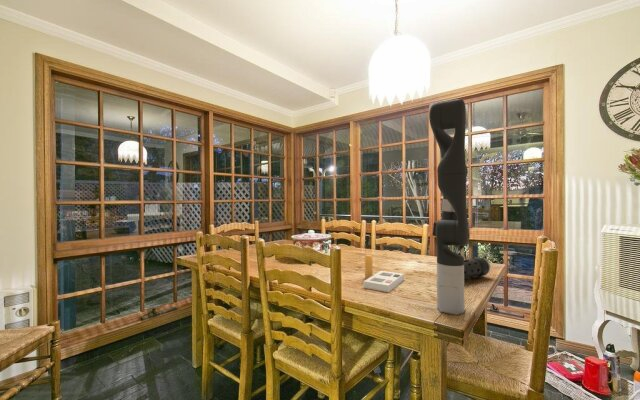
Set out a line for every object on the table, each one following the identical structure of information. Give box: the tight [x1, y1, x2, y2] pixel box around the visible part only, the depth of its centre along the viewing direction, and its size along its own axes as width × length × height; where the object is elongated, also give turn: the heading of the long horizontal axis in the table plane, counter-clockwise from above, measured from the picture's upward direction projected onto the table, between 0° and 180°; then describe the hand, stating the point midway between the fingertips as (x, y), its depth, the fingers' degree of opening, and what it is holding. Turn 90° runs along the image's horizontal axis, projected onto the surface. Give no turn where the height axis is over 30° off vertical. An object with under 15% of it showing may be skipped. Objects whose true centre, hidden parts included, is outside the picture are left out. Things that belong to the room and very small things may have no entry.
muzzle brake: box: [464, 256, 491, 280], centre depth 141 cm, size 10×28×10 cm, turn 116°
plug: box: [364, 254, 374, 280], centre depth 145 cm, size 4×4×12 cm
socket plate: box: [363, 270, 405, 293], centre depth 136 cm, size 22×12×3 cm, turn 146°
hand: (450, 247), depth 120 cm, fingers open, 8 cm apart
